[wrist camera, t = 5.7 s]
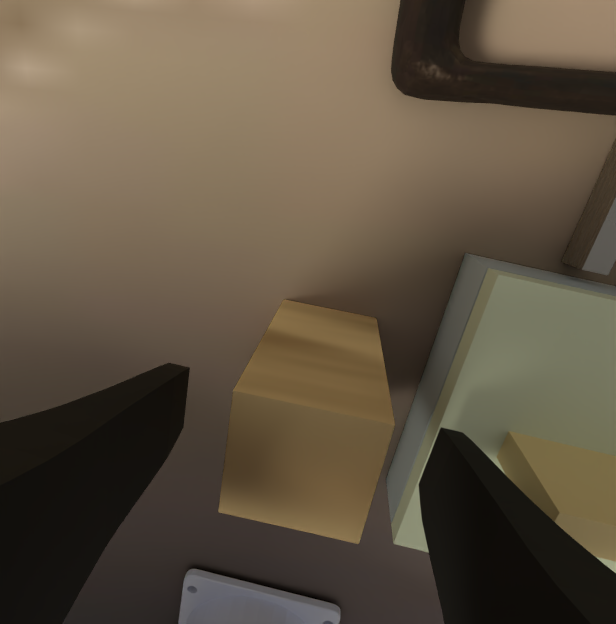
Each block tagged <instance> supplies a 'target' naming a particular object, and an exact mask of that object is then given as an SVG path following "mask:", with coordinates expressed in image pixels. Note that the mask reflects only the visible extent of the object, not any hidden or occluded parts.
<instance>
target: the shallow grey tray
mask: <svg viewBox="0 0 616 624" xmlns="http://www.w3.org/2000/svg"><path fill="white" fill-rule="evenodd" d="M488 268H491V269H495V270H500V271H504V272H509V273H513V274H518V275H522V276H527V277H531V278H536V279H540V280H545V281H549V282H554V283H558V284H563V285H567V286H572V287H576V288H581V289H585V290H590V291H594V292H599V293H603V294H608V295H612V296H616V286H612V285H608V284H603V283H599V282H594V281H590V280H585V279H581V278H576V277H572V276H567V275H563V274H558V273H554V272H549V271H545V270H540V269H536V268H531V267H527V266H522V265H518V264H513V263H509V262H504V261H500V260H495V259H491V258H486V257H482V256H477V255H473V254H468V253H465V255H464V258H463V261H462V264H461V267H460V270H459V273H458V275H457V278H456V281H455V284H454V287H453V290H452V292H451V295H450V298H449V301H448V304H447V307H446V309H445V312H444V315H443V318H442V321H441V324H440V327H439V329H438V332H437V335H436V338H435V341H434V344H433V346H432V349H431V352H430V355H429V358H428V361H427V363H426V366H425V369H424V372H423V375H422V378H421V381H420V383H419V386H418V389H417V392H416V395H415V398H414V400H413V403H412V406H411V409H410V412H409V415H408V417H407V420H406V423H405V426H404V429H403V432H402V435H401V437H400V440H399V443H398V446H397V449H396V452H395V454H394V457H393V460H392V463H391V466H390V469H389V471H388V474H387V477H386V484H387V493H388V501H389V510H390V519H391V522H392V521H393V518H394V516H395V513H396V510H397V508H398V505H399V502H400V500H401V497H402V495H403V492H404V489H405V487H406V484H407V481H408V479H409V476H410V473H411V471H412V468H413V465H414V463H415V460H416V458H417V455H418V452H419V450H420V447H421V444H422V442H423V439H424V436H425V434H426V431H427V428H428V426H429V423H430V421H431V418H432V415H433V413H434V410H435V407H436V405H437V402H438V399H439V397H440V394H441V391H442V389H443V386H444V384H445V381H446V378H447V376H448V373H449V370H450V368H451V365H452V362H453V360H454V357H455V355H456V352H457V349H458V347H459V344H460V341H461V339H462V336H463V333H464V331H465V328H466V325H467V323H468V320H469V318H470V315H471V312H472V310H473V307H474V304H475V302H476V299H477V296H478V294H479V291H480V288H481V286H482V283H483V281H484V278H485V275H486V273H487V270H488Z"/></svg>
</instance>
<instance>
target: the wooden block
mask: <svg viewBox="0 0 616 624" xmlns="http://www.w3.org/2000/svg"><path fill="white" fill-rule="evenodd" d="M394 427H395V421H394V416H393V410H392V404H391V398H390V393H389V387H388V381H387V376H386V370H385V364H384V359H383V353H382V347H381V341H380V336H379V330H378V324H377V319H376V318H374V317H369V316H364V315H359V314H354V313H349V312H344V311H339V310H335V309H330V308H325V307H320V306H315V305H310V304H305V303H300V302H295V301H290V300H285V299H284V300H283V302H282V303H281V305H280V307H279V309H278V311H277V312H276V314H275V316H274V318H273V320H272V321H271V323H270V325H269V327H268V329H267V330H266V332H265V334H264V336H263V338H262V339H261V341H260V343H259V345H258V347H257V348H256V350H255V352H254V354H253V356H252V357H251V359H250V361H249V363H248V365H247V366H246V368H245V370H244V372H243V374H242V375H241V377H240V379H239V381H238V382H237V384H236V386H235V388H234V390H233V395H232V403H231V411H230V419H229V428H228V436H227V444H226V452H225V460H224V469H223V477H222V485H221V493H220V501H219V510H218V512H220V513H224V514H229V515H233V516H238V517H242V518H246V519H251V520H255V521H260V522H264V523H268V524H273V525H277V526H282V527H286V528H290V529H295V530H299V531H304V532H308V533H312V534H317V535H321V536H326V537H330V538H334V539H339V540H343V541H348V542H352V543H356V544H359V542H360V538H361V535H362V532H363V529H364V525H365V522H366V519H367V516H368V512H369V509H370V506H371V502H372V499H373V496H374V493H375V489H376V486H377V483H378V480H379V476H380V473H381V470H382V466H383V463H384V460H385V457H386V453H387V450H388V447H389V444H390V440H391V437H392V434H393V430H394Z"/></svg>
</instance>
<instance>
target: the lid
mask: <svg viewBox="0 0 616 624" xmlns="http://www.w3.org/2000/svg"><path fill="white" fill-rule="evenodd" d="M441 427H442V428H446V429H451V430H455V431H459V432H463V433H464V434H465V435H466V436H467V437H469V438H470V439H471V440H472V441H473V442H474V443H475V444H476V445H477V446H478V447H479V448H480V449H481V450H482V451H483V452H484V453H485V454H486V455H487V456H488V457H489V458H490V459H491V460H492V461H493V462H494V464H495V465H496V466H497V467H498V468H499V469H500V470H501V471H502V472H503V473H504V474H505V475H506V476H507V477H508V478H509V479H510V480H511V481H512V482H513V483H514V484H515V485H516V486H517V487H518V488H519V489H520V490H521V491H522V492H523V493H524V494H525V495H526V496H527V497H528V498H529V499H530V500H531V501H533V502H534V503H535V504H536V505H537V506H538V507H539V508H540V509H541V510H542V511H543V512H544V513H545V514H546V515H548V516H549V517H550V518H551V519H552V520H553V521H554V522H555V523H556V524H557V525H558V526H559V527H561V528H562V529H563V530H564V531H565V532H566V533H567V534H569V535H570V536H571V537H572V538H573V539H574V540H576V541H577V542H578V543H579V544H580V545H582V546H583V547H584V548H585V549H586V550H588V551H589V552H590V553H591V554H593V555H594V556H595V557H596V558H597V559H599V560H600V561H601V562H602V563H603V564H605V565H606V566H607V567H608V568H610V569H611V570H612V571H614V572H615V573H616V296H612V295H608V294H603V293H599V292H594V291H590V290H585V289H581V288H576V287H572V286H567V285H563V284H558V283H554V282H549V281H545V280H540V279H536V278H531V277H527V276H522V275H518V274H513V273H509V272H504V271H500V270H495V269H491V268H488V270H487V273H486V275H485V278H484V281H483V283H482V286H481V288H480V291H479V294H478V296H477V299H476V302H475V304H474V307H473V310H472V312H471V315H470V318H469V320H468V323H467V325H466V328H465V331H464V333H463V336H462V339H461V341H460V344H459V347H458V349H457V352H456V355H455V357H454V360H453V362H452V365H451V368H450V370H449V373H448V376H447V378H446V381H445V384H444V386H443V389H442V391H441V394H440V397H439V399H438V402H437V405H436V407H435V410H434V413H433V415H432V418H431V421H430V423H429V426H428V428H427V431H426V434H425V436H424V439H423V442H422V444H421V447H420V450H419V452H418V455H417V458H416V460H415V463H414V465H413V468H412V471H411V473H410V476H409V479H408V481H407V484H406V487H405V489H404V492H403V495H402V497H401V500H400V502H399V505H398V508H397V510H396V513H395V516H394V518H393V521H392V524H391V527H392V536H393V544H396V545H400V546H404V547H408V548H412V549H417V550H421V551H425V552H429V551H428V546H427V542H426V537H425V533H424V528H423V523H422V517H421V507H420V496H419V482H420V479H421V477H422V474H423V472H424V469H425V466H426V464H427V461H428V459H429V456H430V454H431V451H432V448H433V446H434V443H435V441H436V438H437V436H438V433H439V430H440V428H441Z"/></svg>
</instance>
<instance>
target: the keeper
mask: <svg viewBox="0 0 616 624" xmlns="http://www.w3.org/2000/svg"><path fill="white" fill-rule="evenodd" d="M615 261H616V140H615V142H614V144H613V147H612V149H611V151H610V153H609V156H608V158H607V160H606V162H605V165H604V167H603V169H602V171H601V174H600V176H599V178H598V180H597V183H596V185H595V187H594V189H593V192H592V194H591V196H590V198H589V201H588V203H587V205H586V207H585V210H584V212H583V214H582V216H581V219H580V221H579V223H578V225H577V228H576V230H575V232H574V234H573V237H572V239H571V241H570V243H569V246H568V248H567V250H566V252H565V255H564V257H563V259H562V261H561V262H564V263H566V264H569V265H571V266H574V267H576V268H579V269H581V270H585V271H590V272H594V273H599V274H603V275H609V273H610V271H611V269H612V267H613V265H614V263H615Z"/></svg>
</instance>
